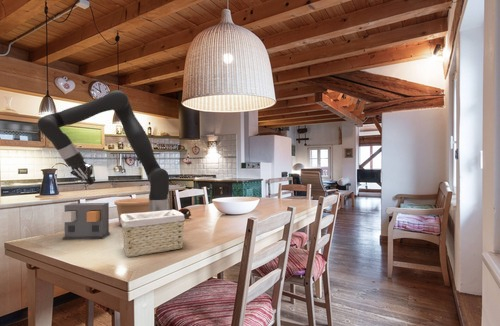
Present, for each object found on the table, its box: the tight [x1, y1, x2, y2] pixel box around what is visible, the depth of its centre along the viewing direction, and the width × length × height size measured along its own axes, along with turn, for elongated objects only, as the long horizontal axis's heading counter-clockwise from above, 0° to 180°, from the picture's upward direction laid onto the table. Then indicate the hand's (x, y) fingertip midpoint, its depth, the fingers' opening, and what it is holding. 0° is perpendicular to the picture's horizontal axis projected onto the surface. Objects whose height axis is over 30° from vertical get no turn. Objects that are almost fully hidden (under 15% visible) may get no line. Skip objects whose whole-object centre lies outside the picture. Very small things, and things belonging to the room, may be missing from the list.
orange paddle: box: [87, 211, 101, 222], centre depth 134 cm, size 5×4×4 cm
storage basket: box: [120, 209, 186, 258], centre depth 119 cm, size 24×16×15 cm
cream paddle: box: [61, 211, 77, 223], centre depth 133 cm, size 5×4×4 cm
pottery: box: [114, 197, 149, 228], centre depth 167 cm, size 22×22×14 cm
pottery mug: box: [176, 207, 192, 220], centre depth 181 cm, size 12×10×8 cm
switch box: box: [62, 202, 111, 240], centre depth 139 cm, size 8×18×16 cm, turn 94°
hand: (91, 183), depth 143 cm, fingers closed
